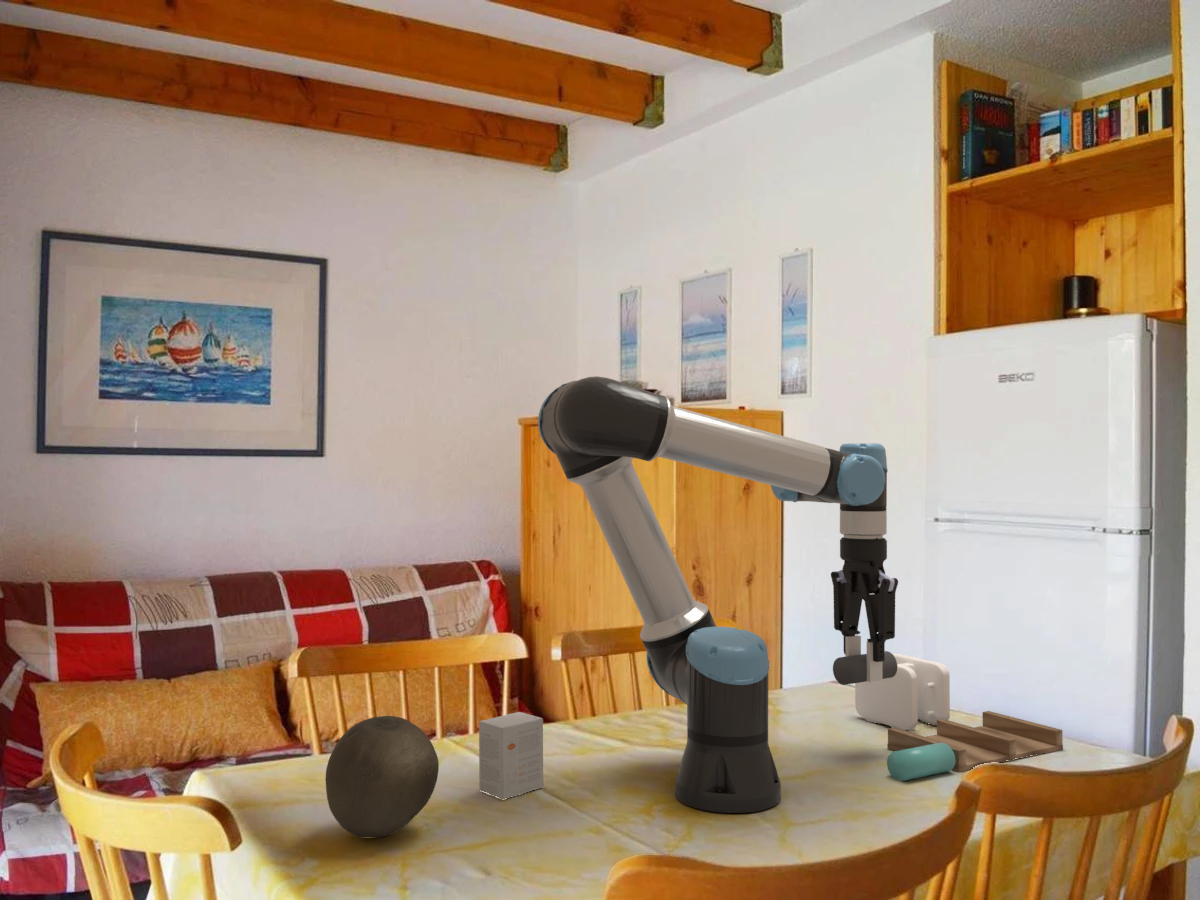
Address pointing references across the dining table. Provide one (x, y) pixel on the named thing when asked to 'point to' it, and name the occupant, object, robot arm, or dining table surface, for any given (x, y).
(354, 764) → the dark grey rounded lump
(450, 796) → the dining table surface
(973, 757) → the slot board
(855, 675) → the black rod
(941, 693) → the cable organizer
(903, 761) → the teal rod
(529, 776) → the small box
